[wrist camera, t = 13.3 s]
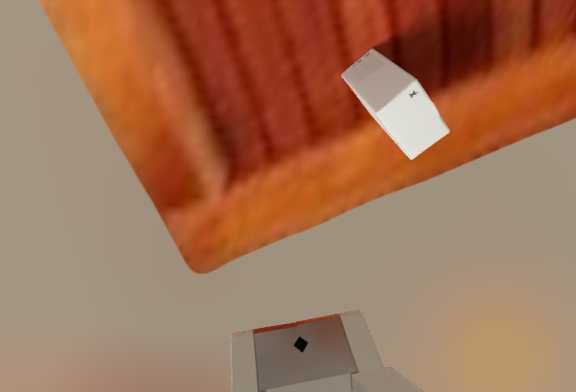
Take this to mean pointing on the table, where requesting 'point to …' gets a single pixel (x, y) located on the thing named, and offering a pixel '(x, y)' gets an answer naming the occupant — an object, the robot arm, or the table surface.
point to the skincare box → (396, 102)
